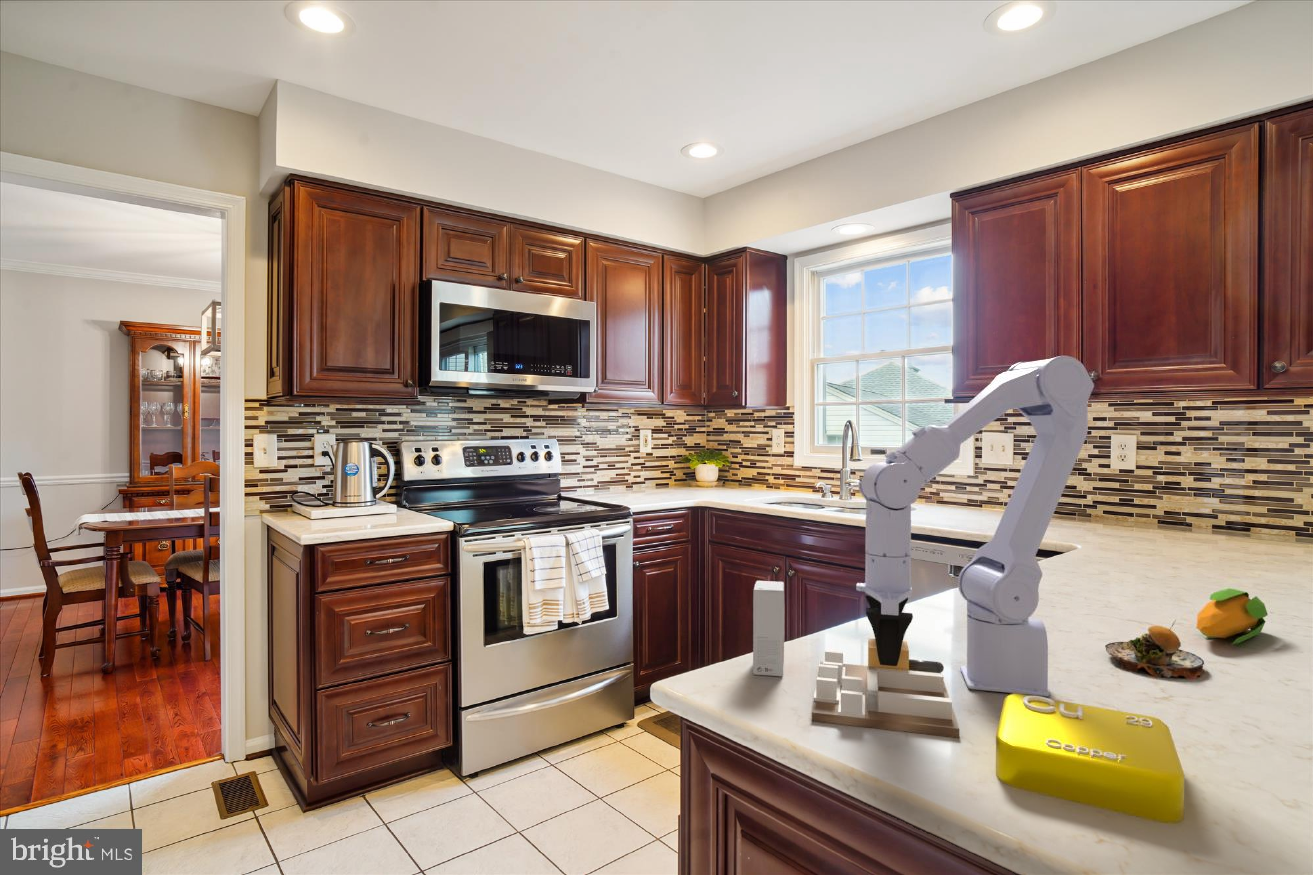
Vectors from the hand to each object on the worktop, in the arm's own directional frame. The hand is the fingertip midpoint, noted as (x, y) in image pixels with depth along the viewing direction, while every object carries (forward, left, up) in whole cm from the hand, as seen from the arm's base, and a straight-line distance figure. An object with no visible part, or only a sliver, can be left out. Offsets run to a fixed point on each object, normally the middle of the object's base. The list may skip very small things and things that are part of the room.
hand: (887, 655), depth 91 cm
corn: (-54, -36, -4) cm, 65 cm away
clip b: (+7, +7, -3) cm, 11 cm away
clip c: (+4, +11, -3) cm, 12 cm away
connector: (-2, 0, -3) cm, 4 cm away
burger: (-37, -19, -5) cm, 42 cm away
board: (+1, +5, -4) cm, 7 cm away
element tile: (-18, +18, -5) cm, 26 cm away
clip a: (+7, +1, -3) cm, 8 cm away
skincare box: (+16, -2, -4) cm, 17 cm away
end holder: (-3, +7, -3) cm, 8 cm away
